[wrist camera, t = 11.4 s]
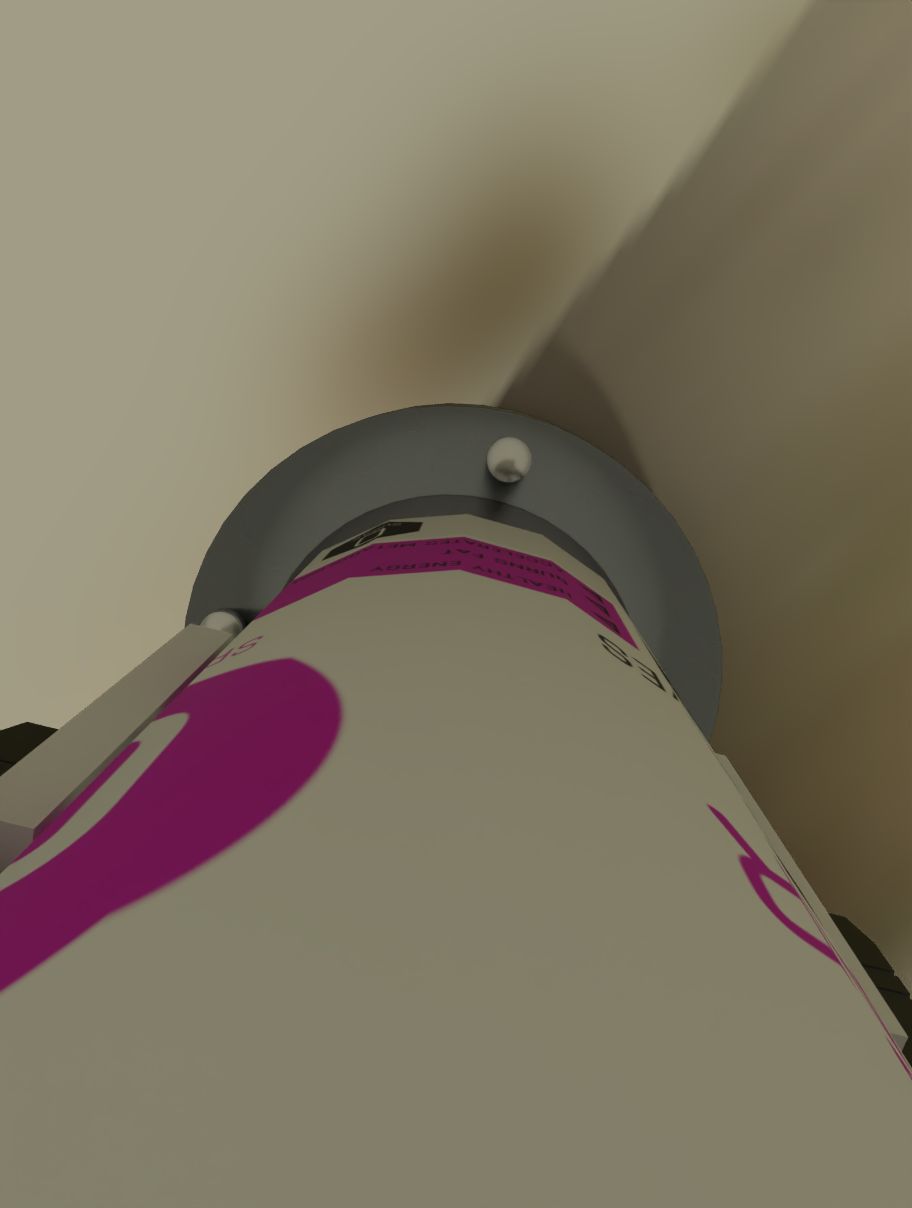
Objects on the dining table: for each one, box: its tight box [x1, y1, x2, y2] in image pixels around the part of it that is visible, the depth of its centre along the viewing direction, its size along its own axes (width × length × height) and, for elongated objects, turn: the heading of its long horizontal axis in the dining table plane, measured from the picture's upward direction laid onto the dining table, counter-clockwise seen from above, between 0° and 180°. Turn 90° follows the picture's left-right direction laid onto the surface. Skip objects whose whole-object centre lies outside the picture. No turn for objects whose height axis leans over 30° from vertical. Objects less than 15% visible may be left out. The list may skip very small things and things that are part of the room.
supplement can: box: [0, 514, 912, 1208], centre depth 10 cm, size 8×8×15 cm
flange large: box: [185, 403, 722, 743], centre depth 19 cm, size 12×12×3 cm
